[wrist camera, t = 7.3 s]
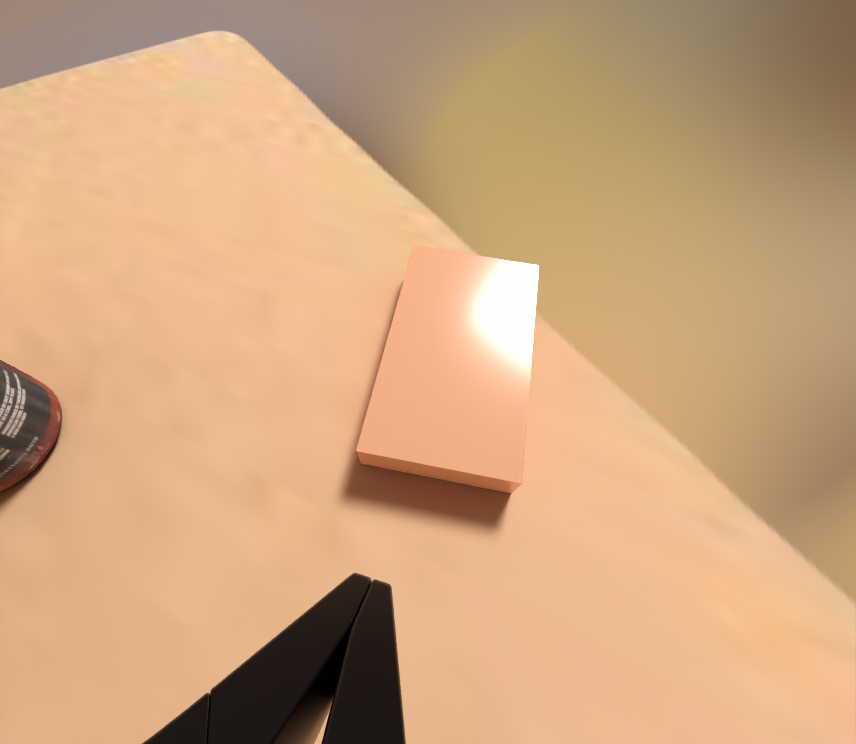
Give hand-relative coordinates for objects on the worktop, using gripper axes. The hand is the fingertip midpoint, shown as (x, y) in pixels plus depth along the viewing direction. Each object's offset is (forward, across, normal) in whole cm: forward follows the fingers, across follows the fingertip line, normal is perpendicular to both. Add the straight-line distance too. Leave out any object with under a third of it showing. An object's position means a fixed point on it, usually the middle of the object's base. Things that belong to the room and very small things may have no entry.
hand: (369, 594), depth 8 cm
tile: (+9, -1, +2) cm, 9 cm away
